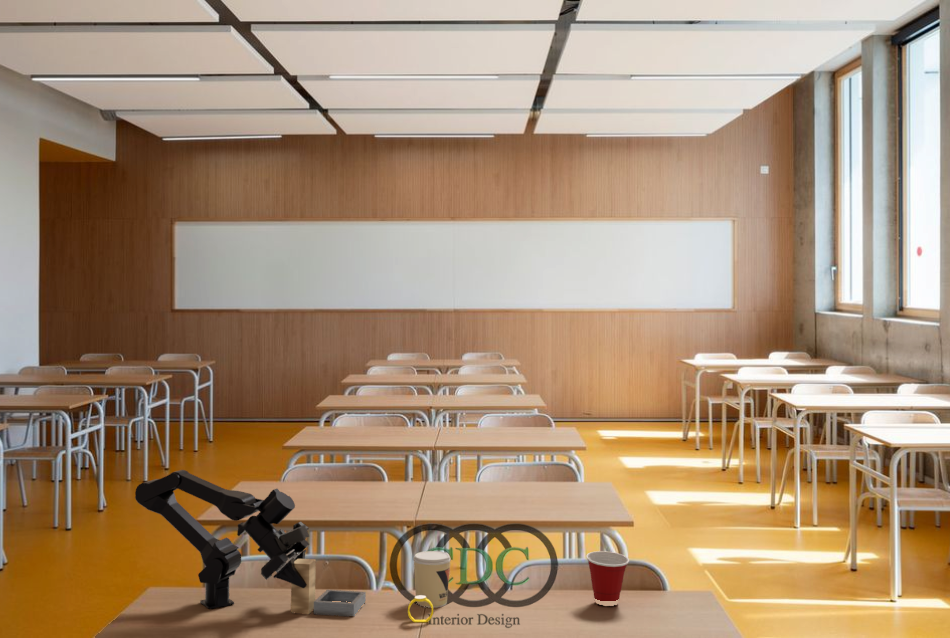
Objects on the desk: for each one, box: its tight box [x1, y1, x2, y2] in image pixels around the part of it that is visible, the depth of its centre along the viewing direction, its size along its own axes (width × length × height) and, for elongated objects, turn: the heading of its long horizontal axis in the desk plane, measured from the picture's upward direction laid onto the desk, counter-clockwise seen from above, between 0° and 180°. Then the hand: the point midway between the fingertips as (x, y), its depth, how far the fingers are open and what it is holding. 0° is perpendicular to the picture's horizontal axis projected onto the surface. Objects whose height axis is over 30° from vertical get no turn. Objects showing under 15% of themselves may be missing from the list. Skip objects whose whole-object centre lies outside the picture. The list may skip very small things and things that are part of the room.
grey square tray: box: [313, 589, 367, 617], centre depth 214 cm, size 10×10×3 cm
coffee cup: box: [413, 550, 451, 609], centre depth 220 cm, size 9×9×12 cm
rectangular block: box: [290, 558, 317, 615], centre depth 213 cm, size 4×4×12 cm
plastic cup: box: [585, 550, 630, 601], centre depth 221 cm, size 11×11×12 cm
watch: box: [407, 595, 434, 624], centre depth 206 cm, size 6×3×6 cm, turn 92°
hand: (308, 583), depth 213 cm, fingers open, 5 cm apart
